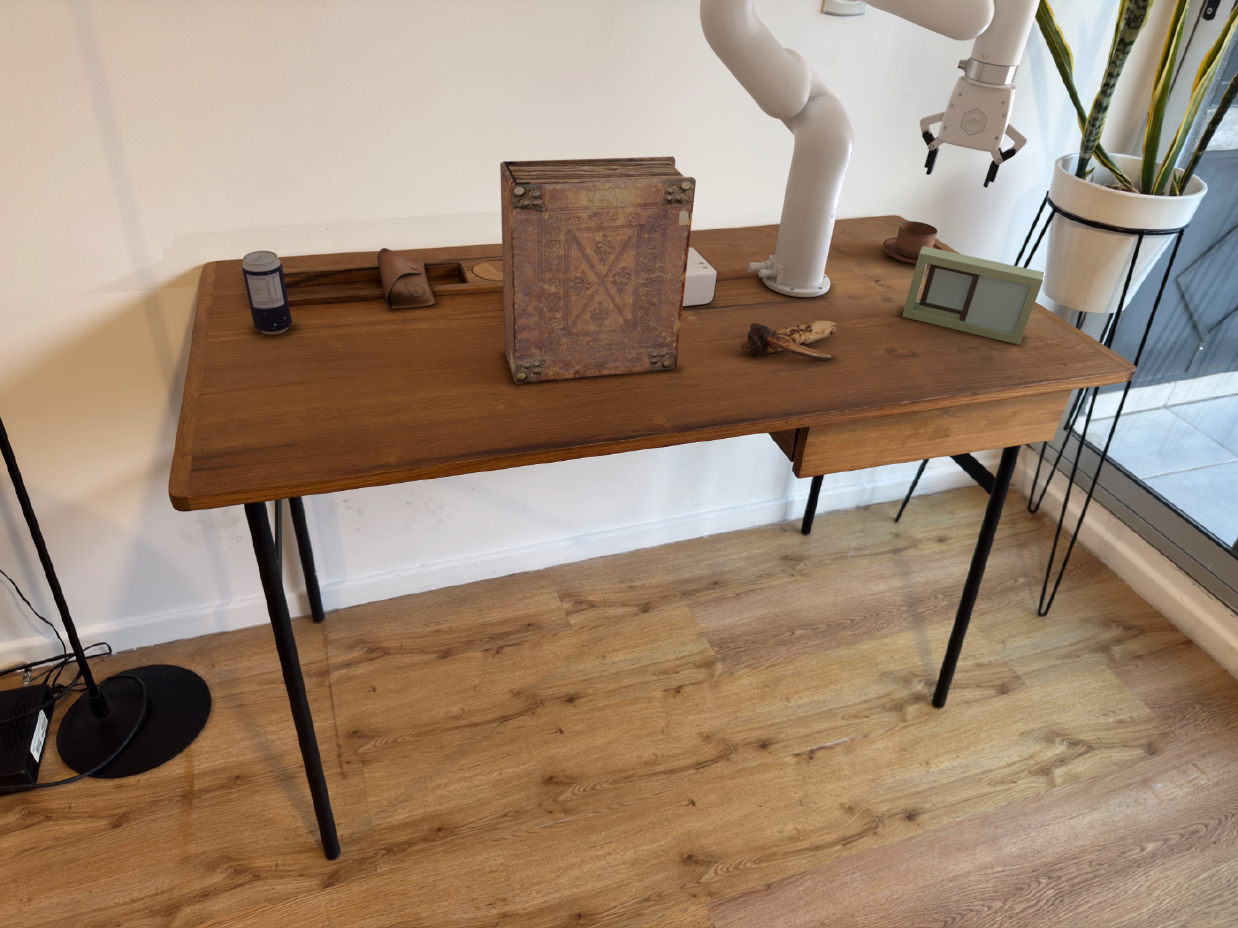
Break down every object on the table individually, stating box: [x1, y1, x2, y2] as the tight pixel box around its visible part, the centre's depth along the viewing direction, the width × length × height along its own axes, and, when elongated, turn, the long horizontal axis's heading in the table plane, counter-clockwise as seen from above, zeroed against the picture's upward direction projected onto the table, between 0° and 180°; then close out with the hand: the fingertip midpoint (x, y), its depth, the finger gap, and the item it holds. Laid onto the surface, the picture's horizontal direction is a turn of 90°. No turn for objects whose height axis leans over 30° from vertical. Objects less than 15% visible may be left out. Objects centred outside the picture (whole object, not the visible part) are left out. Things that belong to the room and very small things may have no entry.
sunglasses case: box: [376, 247, 436, 310], centre depth 154 cm, size 18×7×7 cm, turn 18°
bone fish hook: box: [741, 319, 838, 361], centre depth 143 cm, size 9×5×18 cm
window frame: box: [901, 246, 1045, 346], centre depth 152 cm, size 20×4×12 cm, turn 65°
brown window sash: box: [919, 264, 974, 315], centre depth 156 cm, size 9×7×8 cm
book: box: [499, 156, 697, 385], centre depth 128 cm, size 25×9×30 cm, turn 106°
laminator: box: [683, 246, 719, 308], centre depth 154 cm, size 34×12×6 cm, turn 109°
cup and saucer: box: [882, 220, 943, 265], centre depth 177 cm, size 12×12×6 cm
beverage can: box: [241, 250, 293, 335], centre depth 136 cm, size 6×6×12 cm
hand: (957, 179), depth 151 cm, fingers open, 9 cm apart
